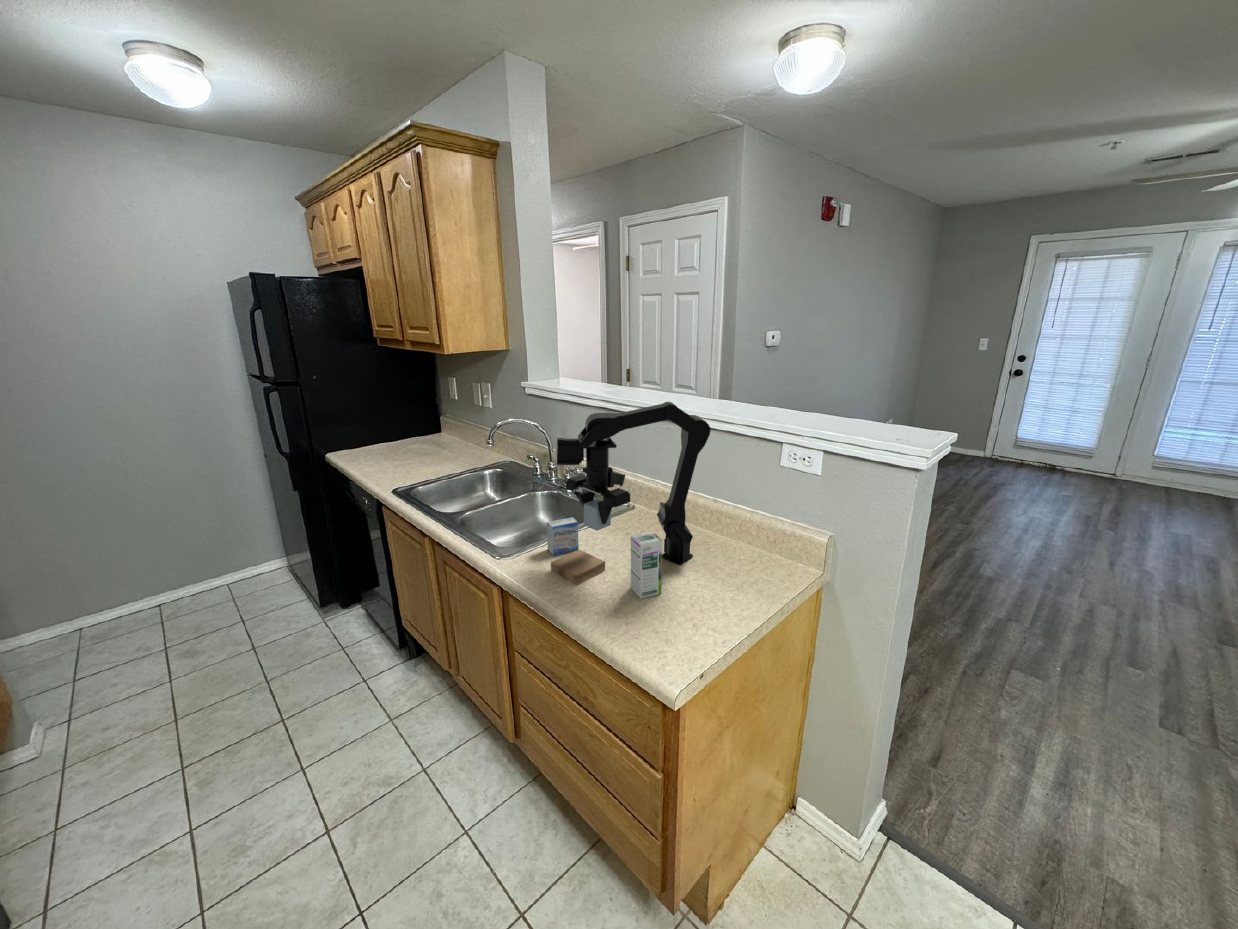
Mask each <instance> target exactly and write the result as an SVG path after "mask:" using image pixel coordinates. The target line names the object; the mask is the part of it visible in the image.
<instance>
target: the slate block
mask: <svg viewBox="0 0 1238 929" xmlns="http://www.w3.org/2000/svg"><path fill="white" fill-rule="evenodd" d="M600 501H603V499H599V498H597V499H594V500H593V501H590V502H587V503H584V508H583V525H584V526H585V527H588V528H590V529H592V530H594V531H600V530H602V529H605V528H607V527H609V526H611V522H612V517H611V516H612V514H611V513H612V511H611V512H610V515H609V517H608V520H607V522H606V524H602V521H601V517H600V513H599V508H598V503H597V502H600Z"/></svg>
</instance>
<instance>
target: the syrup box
mask: <svg viewBox="0 0 1238 929" xmlns="http://www.w3.org/2000/svg"><path fill="white" fill-rule="evenodd" d="M662 554H663V539H662V538H661V537H660V536H659V535H658V534H657V533H655V532H654V531H653V530H651V531H648V532H641V533H637V534H631V535H630V588H631V590H632V591H633V592H634V594H635V595H636V596H637V597H638V598H639V599H641V600H642V599H645V598H648V597H653V596H657V595H661V594H662V584H663V583H662V581H663V580H662V579H663V578H662V573H663V572H662V571H663V569H662V568H663V557H662Z"/></svg>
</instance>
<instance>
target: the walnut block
mask: <svg viewBox="0 0 1238 929" xmlns="http://www.w3.org/2000/svg"><path fill="white" fill-rule="evenodd" d="M605 571H606V561H604V560H602V559H600V558H599V557H596V556H594V555H591V554H590V553H587V552H585V551H583V550H582V549H578V550H574V551H571V553H570V552H569V553H568V554H566V555H564V556H562V557H559V558H557V559H555V560H553V561H551V562H550V572H552V573H554V574H556V575H557V576H559V577H561V578H562V579H565V580H566V581H569V583H572V584H574V585H576V586H578V585H580V584H582V583H584V582H586V581H588V580H589V579H591V578H594V577H595V576H598V575H599V574H601V573H603V572H605Z"/></svg>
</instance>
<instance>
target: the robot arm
mask: <svg viewBox="0 0 1238 929" xmlns="http://www.w3.org/2000/svg"><path fill="white" fill-rule="evenodd" d="M665 421H670V422H672V423H673V424H674V425H676V426H678V427H679V428H680V429H681V431H680V442H681V443H680V446H681V449H680V454H679V457H678V461H677V465H676V469H675V474H674V477H673V481H672V486H671V489H670V493H669V497H668V499H667V500H666V501H665V503H664V502H661V501H660V503H659V509H658V512H657V514H656V516H657V518H658V523H659V524H660V526H661V528H662V530H663V532H664V534H665V538H664V541H663V552H664V553H662V559H665V560H668V561H670V562H672V563H674V564H677V565H681V564H683V563H685V562H686V561H688V560H689V559H692V558H693V557H694V555H693V554H692V553H691V542H692V540H693V538H694V535H693V534H692V533H691V531H690V529H689V528H688V526H687V524H686V518H687V517H686V501H687V497H688V494H689V490H690V487H691V483H692V479H693V476H694V472H695V469H696V464H697V460H698V456H699V454H700V453H701V451H702V450H703V449H704V447H705V446H706V443H708V442H707V441H708V440H709V437H710V435H711V427H710V424H709V423H708V422H707V421H706V420H704V419H703V418H702V417H700V416H698V415H696V414H691V415H689V414H688V413H687V412H685V411H684V410H682V409H681V408H679V406H677V405H676V404H674V403H673V402H671V401H665V402H663V403H659V404H655V405H651V406H645V407H641V408H637V409H632V410H628V411H624V412H594V413H591V414H589V415H588V416H587V418H586V419H585V424H584V427H583V429H582V430H581V431H580V432H579V434H578V435H577V438H565V437H564V438H563V437H559V438H556V452H555V453H556V466H579V465H580V464H582V463H583V462H584V459H585V467H583V468H582V473H585V475H583V474H578V475H575V476H572V477H569V478H568V479H567V480H566V481H565V489H566V490H568V491H570V492H571V491H572V492H574V493H573V495H575V496H576V498H577V499H578V502H579V503H580V505H581V507H582V508H583V509H584V503H587V502H590V501H593V500H595V499H594V498H595V495H599V496H601V497H603V498H602V501H600V502H597V503H598V508H599V513H600V517H601V521H602V524H606V522H607V520H608V517H609V515H610V512H611V513H612V510H613V508H617V507H620V506H623V505H625V504H629V503H631V493H630V491H628V490H626V489H622V488H619V487H617V488H614V487H615V485H616V486H620V487H623V486H624V482H625V479H626V474H624V473H621V472H618V471H614V469H613V467H611V466H610V465H609V464H610V463H609V458H610V457H609V455H610V454H609V452H610V451H609V450H610V449H615V448H617V447H618V446H617V444H616V442H615V441H614V440H613V439H612V437H613V436H615V435H617V434H618V433H620V432H623V431H625V430H629V429H634V428H637V427H643V426H647V425H651V424H656V423H660V422H665ZM584 449H585V452H584ZM584 454H585V455H584ZM584 457H585V458H584ZM609 488H610V489H611V488H613V489H611V490H610V489H609Z"/></svg>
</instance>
